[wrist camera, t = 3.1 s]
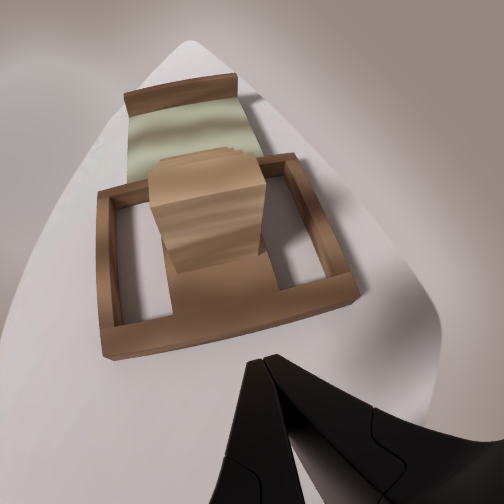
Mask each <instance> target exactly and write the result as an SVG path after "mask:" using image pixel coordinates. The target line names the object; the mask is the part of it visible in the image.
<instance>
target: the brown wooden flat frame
mask: <svg viewBox="0 0 504 504" xmlns="http://www.w3.org/2000/svg"><path fill="white" fill-rule="evenodd" d="M237 91H238V76H237V74H236V73H230V74H221V75H213V76H206V77H199V78H193V79H187V80H182V81H176V82H171V83H166V84H161V85H156V86H152V87H147V88H143V89H139V90H135V91H132V92H127V93H124V101H125V104H126V108H127V112H128V115H129V130H128V154H127V184H125V185H121V186H117V187H113V188H110V189H106V190H102V191H99V192H98V196H97V215H96V284H97V303H98V316H99V327H100V337H101V346H102V354H103V357H105V358H108V359H110V360H113V361H116V360H122V359H129V358H135V357H141V356H146V355H152V354H157V353H163V352H168V351H173V350H178V349H183V348H188V347H193V346H197V345H202V344H207V343H211V342H216V341H220V340H224V339H229V338H233V337H237V336H241V335H245V334H249V333H253V332H257V331H261V330H265V329H269V328H272V327H276V326H280V325H284V324H287V323H291V322H294V321H298V320H301V319H305V318H308V317H312V316H315V315H318V314H322V313H325V312H328V311H332V310H335V309H338V308H341V307H344V306H347V305H351V304H352V303H353V302H354V301H355V300H356V299H357V298H358V297H359V296H360V293H359V291H358V288H357V286H356V283H355V281H354V278H353V276H352V274H351V271H350V269H349V267H348V264H347V262H346V260H345V257H344V255H343V253H342V250H341V248H340V246H339V244H338V241H337V239H336V237H335V235H334V233H333V230H332V228H331V226H330V224H329V222H328V220H327V217H326V215H325V213H324V211H323V209H322V207H321V205H320V203H319V201H318V199H317V197H316V195H315V192H314V190H313V188H312V186H311V184H310V182H309V180H308V178H307V176H306V175H305V173H304V171H303V169H302V167H301V165H300V163H299V161H298V159H297V157H296V155H295V153H294V152H293V153H285V154H277V155H270V156H264V154H263V152H262V150H261V148H260V145H259V143H258V141H257V139H256V136H255V134H254V132H253V130H252V128H251V125H250V123H249V121H248V119H247V117H246V115H245V112H244V110H243V108H242V106H241V104H240V102H239V100H238V97H237ZM226 146H228V148H234V150H235V151H236V150H243V153H251V152H254V155H255V157H256V159H257V162H258V164H259V167H260V169H261V172H262V174H263V177H264V178H268V177H275V176H281V175H283V176H284V178H285V180H286V182H287V184H288V187H289V189H290V191H291V193H292V196H293V198H294V200H295V202H296V205H297V207H298V209H299V212H300V214H301V216H302V219H303V221H304V223H305V226H306V228H307V230H308V233H309V235H310V238H311V240H312V242H313V245H314V247H315V250H316V252H317V255H318V257H319V260H320V262H321V265H322V267H323V270H324V272H325V275H326V277H327V278H326V279H323V280H319V281H315V282H311V283H308V284H304V285H300V286H296V287H292V288H288V289H284V290H280V289H279V286H278V283H277V280H276V277H275V274H274V271H273V268H272V265H271V262H270V259H269V256H268V253H267V250H266V247H265V244H264V241H263V238H262V235H261V233H260V241H259V249H258V256H257V257H252V258H248V259H243V260H239V261H234V262H230V263H225V264H221V265H216V266H212V267H207V268H203V269H198V270H194V271H189V272H185V273H180V274H177V272H176V269H175V267H174V265H173V262H172V260H171V258H170V255H169V253H168V251H167V248H166V246H165V243H164V241H163V239H162V246H163V253H164V260H165V267H166V274H167V280H168V286H169V292H170V298H171V304H172V310H173V315H172V316H168V317H163V318H158V319H153V320H148V321H143V322H138V323H133V324H127V325H123V323H122V314H121V305H120V295H119V283H118V268H117V249H116V209H120V208H124V207H128V206H132V205H136V204H140V203H144V202H148V201H150V200H149V186H148V172H152V171H153V167H154V166H157V162H160V159H164V158H169V157H173V156H178V155H183V154H188V153H193V152H198V151H203V150H209V149H214V148H220V147H226ZM161 238H162V236H161Z"/></svg>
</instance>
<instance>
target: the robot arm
mask: <svg viewBox="0 0 504 504" xmlns="http://www.w3.org/2000/svg"><path fill="white" fill-rule="evenodd" d="M290 443H291V444H290ZM291 445H292V447H293V449H294V451H295V452H296V454H297V456H298V458H299V460H300V461H301V463H302V465H303V467H304V468H305V470H306V472H307V474H308V475H309V477H310V479H311V481H312V482H313V484H314V486H315V487H316V489H317V491H318V493H319V494H320V496H321V498H322V499H323V501H324V503H325V504H504V439H503V440H499V441H492V442H478V441H471V440H467V439H462V438H458V437H455V436H451V435H448V434H444V433H441V432H437V431H434V430H430V429H427V428H424V427H421V426H418V425H415V424H412V423H410V422H407V421H404V420H402V419H400V418H397V417H395V416H393V415H390V414H388V413H386V412H384V411H382V410H380V409H378V408H376V407H374V408H373V406H372V405H370V404H368V403H366V402H364V401H362V400H360V399H358V398H356V397H354V396H352V395H350V394H348V393H346V392H344V391H343V390H341V389H339V388H337V387H335V386H333V385H331V384H329V383H328V382H326V381H324V380H322V379H320V378H319V377H317V376H315V375H313V374H311V373H310V372H308V371H306V370H304V369H303V368H301V367H299V366H297V365H296V364H294V363H292V362H290V361H289V360H287V359H285V358H284V357H282V356H280V355H278V354H275V355H271V356H267V357H264V358H263V360H262V359H256V360H252V361H249V362H247V364H246V368H245V372H244V377H243V381H242V385H241V389H240V394H239V398H238V402H237V406H236V410H235V414H234V419H233V423H232V427H231V431H230V435H229V439H228V443H227V447H226V451H225V457H224V458H223V462H222V466H221V470H220V473H219V477H218V480H217V483H216V487H215V489H214V492H213V494H212V497H211V499H210V502H209V504H305V500H304V496H303V492H302V488H301V484H300V480H299V476H298V472H297V468H296V464H295V460H294V456H293V452H292V448H291Z"/></svg>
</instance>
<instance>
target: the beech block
mask: <svg viewBox="0 0 504 504" xmlns="http://www.w3.org/2000/svg"><path fill="white" fill-rule="evenodd" d="M148 186H149V200H150V208H151V211H152V214H153V216H154V219H155V221H156V224H157V226H158V229H159V231H160V234H161V236H162V239H163V241H164V243H165V246H166V248H167V251H168V253H169V255H170V258H171V260H172V262H173V265H174V267H175V269H176V272H177V274H180V273H185V272H189V271H194V270H198V269H203V268H207V267H212V266H216V265H221V264H225V263H230V262H234V261H239V260H243V259H248V258H252V257H257V256H258V249H259V241H260V233H261V225H262V217H263V208H264V200H265V192H266V182H265V179H264V177H263V174H262V172H261V169H260V167H259V164H258V162H257V159H256V157H255V155H254V152H251V153H243V150H236V151H235V150H234V148H228V146H226V147H220V148H214V149H209V150H203V151H198V152H193V153H188V154H183V155H178V156H173V157H169V158H164V159H160V162H157V166H154V167H153V171H152V172H148Z"/></svg>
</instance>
